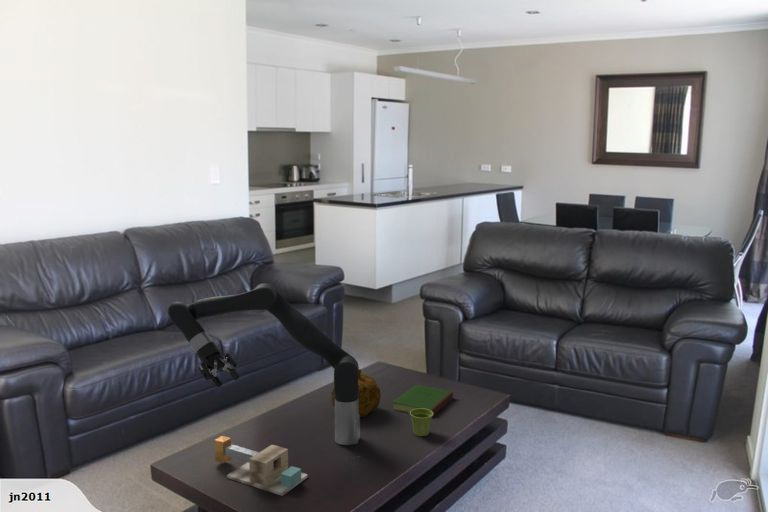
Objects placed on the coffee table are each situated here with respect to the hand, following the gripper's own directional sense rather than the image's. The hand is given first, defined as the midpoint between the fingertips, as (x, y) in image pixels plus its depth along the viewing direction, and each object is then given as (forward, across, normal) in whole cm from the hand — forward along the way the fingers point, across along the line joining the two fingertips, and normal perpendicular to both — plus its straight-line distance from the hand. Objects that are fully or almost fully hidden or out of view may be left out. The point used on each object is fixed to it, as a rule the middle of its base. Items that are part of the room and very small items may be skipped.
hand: (229, 382), depth 230 cm
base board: (+36, -5, +5) cm, 36 cm away
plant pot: (+57, +52, -16) cm, 79 cm away
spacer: (+39, -5, -2) cm, 39 cm away
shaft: (+27, -5, +12) cm, 30 cm away
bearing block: (+36, -5, +5) cm, 36 cm away
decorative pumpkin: (+33, +57, +8) cm, 67 cm away
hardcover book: (+49, +81, -7) cm, 95 cm away
